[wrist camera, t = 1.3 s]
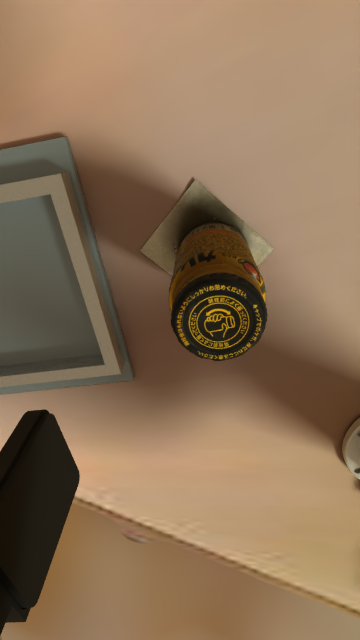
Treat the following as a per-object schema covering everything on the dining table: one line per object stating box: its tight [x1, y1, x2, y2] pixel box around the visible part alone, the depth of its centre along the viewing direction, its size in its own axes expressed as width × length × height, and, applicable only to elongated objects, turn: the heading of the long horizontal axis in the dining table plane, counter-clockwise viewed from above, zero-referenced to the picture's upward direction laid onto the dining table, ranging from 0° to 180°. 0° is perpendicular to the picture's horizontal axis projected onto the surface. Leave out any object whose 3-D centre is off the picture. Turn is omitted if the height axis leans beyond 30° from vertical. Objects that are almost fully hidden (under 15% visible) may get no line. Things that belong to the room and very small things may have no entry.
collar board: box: [0, 137, 134, 395], centre depth 30 cm, size 22×18×3 cm
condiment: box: [140, 179, 274, 361], centre depth 24 cm, size 7×8×12 cm
